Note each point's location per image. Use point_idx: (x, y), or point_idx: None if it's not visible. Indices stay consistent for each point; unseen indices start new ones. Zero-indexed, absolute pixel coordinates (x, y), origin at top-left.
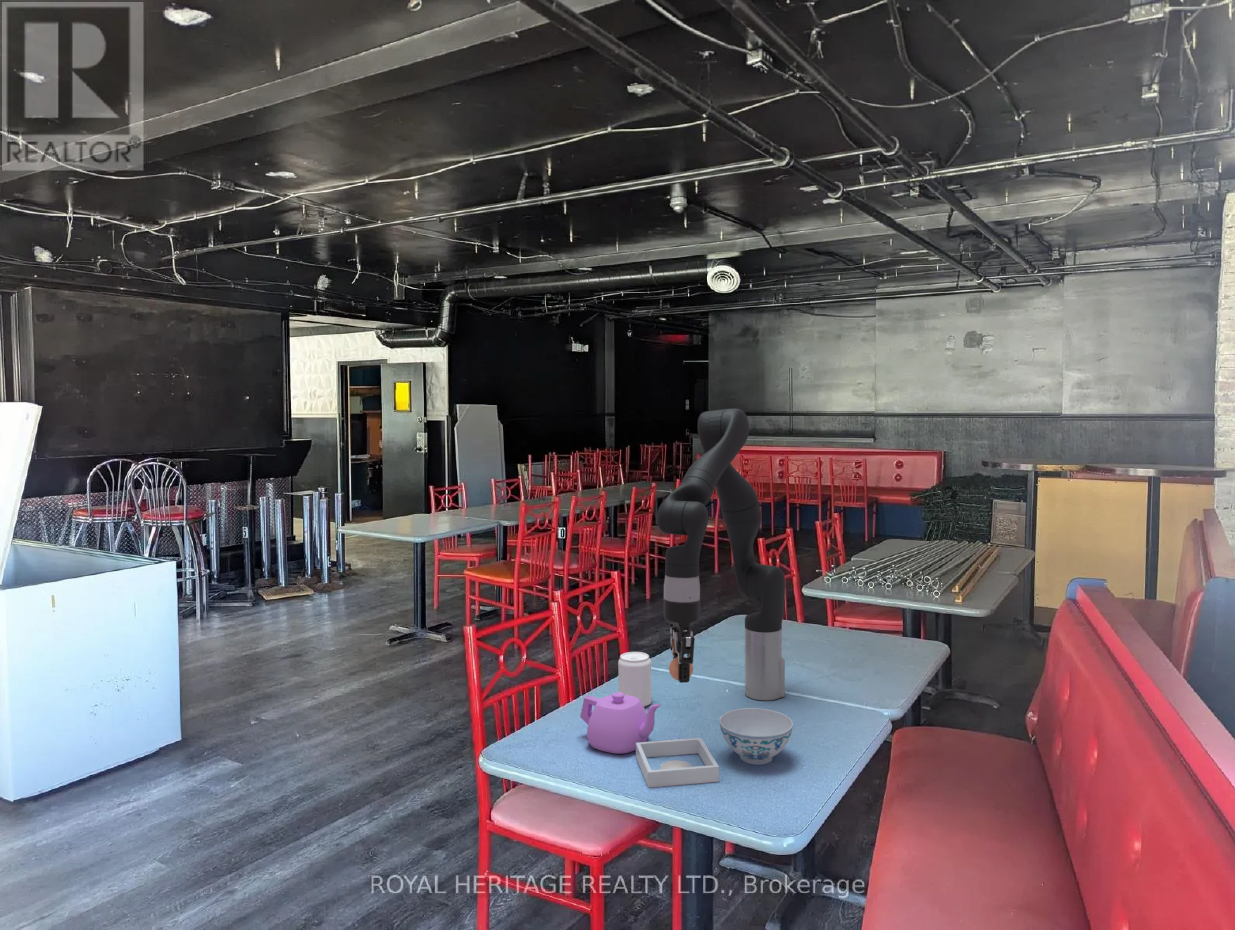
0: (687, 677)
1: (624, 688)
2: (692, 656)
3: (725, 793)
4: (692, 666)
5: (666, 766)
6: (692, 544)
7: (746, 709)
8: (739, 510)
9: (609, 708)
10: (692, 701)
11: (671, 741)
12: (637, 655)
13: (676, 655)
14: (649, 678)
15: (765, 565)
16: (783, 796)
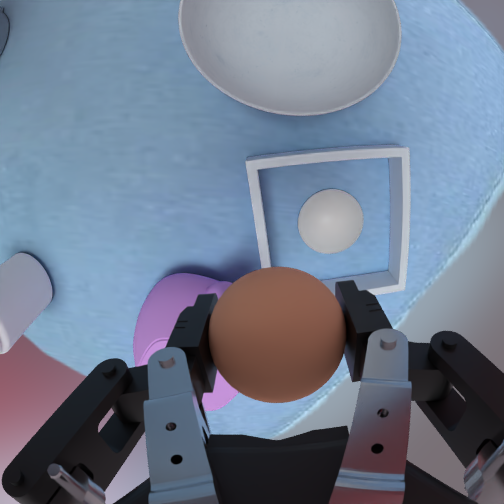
0: (374, 300)
1: (34, 319)
2: (485, 363)
3: (436, 144)
4: (302, 289)
5: (325, 241)
6: None
7: (182, 24)
8: None
9: (233, 395)
10: (5, 172)
11: (266, 236)
12: None
13: (201, 386)
14: (2, 280)
15: None
16: (447, 50)
